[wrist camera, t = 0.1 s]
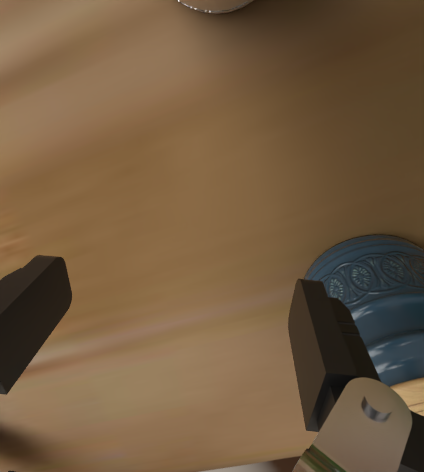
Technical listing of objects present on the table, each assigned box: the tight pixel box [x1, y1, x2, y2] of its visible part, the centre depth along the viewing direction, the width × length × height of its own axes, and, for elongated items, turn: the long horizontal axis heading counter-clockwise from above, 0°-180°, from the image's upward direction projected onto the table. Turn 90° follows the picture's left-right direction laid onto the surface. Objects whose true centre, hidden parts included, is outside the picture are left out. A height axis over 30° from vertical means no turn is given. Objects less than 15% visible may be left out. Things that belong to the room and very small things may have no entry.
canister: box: [304, 235, 424, 416], centre depth 24 cm, size 13×13×18 cm
